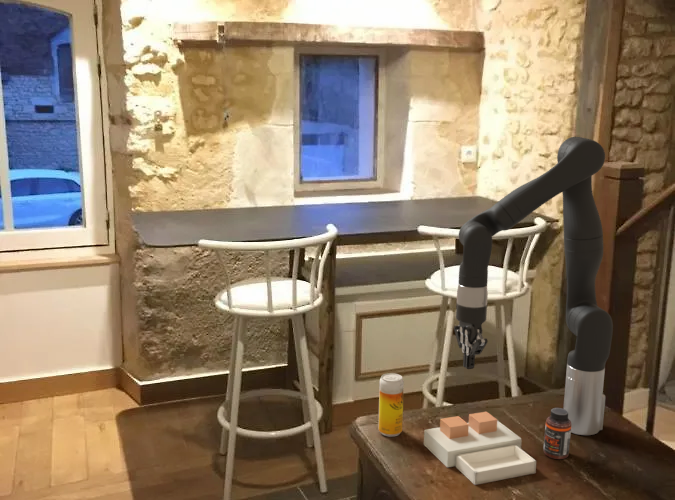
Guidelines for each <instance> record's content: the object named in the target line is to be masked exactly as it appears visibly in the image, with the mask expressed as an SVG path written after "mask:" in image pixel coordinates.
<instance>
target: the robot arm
mask: <svg viewBox="0 0 675 500" xmlns="http://www.w3.org/2000/svg"><path fill="white" fill-rule="evenodd" d="M556 161H557V163H556V164H555V165H554V166H553V167H551V168H550V169H548V170H547V171H546V172H544V173H543V174H541V175H540V176H537V177H536V178H534V179H532V180H530V181H528V182H526V183H524V184H522V185H521V186H518V187H517V188H515V189H513V190H512V191H510V192H509V193H508V194H506V196H504V197H502V198H501V199H500V200H498V201H497V202H496V203H495V204H493V205H492V206H491V207H490V208H487V209H486V210H483V211H482V212H480V213H478V214H476V215H475V216H473V217H471V218H470V219H468V220H467V221H466V222H465V223H464V224H462V226H461V227H460V229H459V231H458V240H459V242H460V244H461V245H462V246H463V250H462V251H463V252H462V261H461V262H460V265H459V270H458V284H457V291H456V309H455V319H456V320H457V321H458V322H459V323H458V325H454V327H453V330H454V331H453V332H454V334H455V338H456V342H457V345H458V348H459V349H461V352H462V353H463V358H462V359H463V361H462V362H463V363H462V365H463V366H462V367H464V368H465V369H467V370H472V369H474V368H475V364H476V363H475V361H476V356H477V355H481V354H482V353H483V351H484V349H485V347H486V345H487V344H488V342H489V341H488V338H484V337H483V327H482V326H483V325H482V324H484V323H485V322H486V321H487V315H488V314H487V313H488V298H489V297H488V291H489V290H488V280H489V279H488V277H489V275H488V274H489V263H490V260H491V255H492V250H493V237H494V236H495V235H497V234H498V233H500V232H502V231H508V230H510V229H512V228H513V227H515V226H516V225H518V224H519V223H520V222H521V221H522V220H524V219H525V218H527V217H528V216H529V215H530V214H532V213H533V212H535V211H536V210H537V209H539V208H540V207H542V206H543V205H544V204H546V203H547V202H549V201H551V199H553V198H555V197H556V196H558V195H559V194H561V193H562V218H563V219H562V220H563V246H564V257H565V275H566V301H565V302H566V304H565V322H566V326H567V328H568V329H569V331H570V332H571V333H572V334H573V335H575V336H576V341H575V347H574V349H573V350H571V351H569V353H568V355H567V359H566V360H567V361H566V374H565V386H564V399H563V409H565V410H567V411H568V419H569V420H570V421H571V433H572V434H575V435H581V436H591V435H592V436H593V435H595V434H598V433H599V432H600V431H603V426H604V415H605V407H606V406H605V405H606V395H605V394H604V392H603V391H604V382H605V381H604V380H605V371H606V363H607V361H608V359H609V357H610V354H611V353H610V352H611V346H612V340H613V331H614V329H613V328H614V324H613V319H612V316H611V315H610V314H609V313H608V311H606V310H605V309H603V308H601V307H600V306H598V302H597V295H596V278H597V274H598V272H599V270H600V268H601V267H600V266H601V263H602V260H603V257H604V231H603V225H602V222H601V221H602V220H601V216H600V214H599V210H598V207H597V203H596V201H595V199H594V195H593V187H592V186H593V184H592V182H593V181H592V180H593V179H592V178H593V177H592V176H594V175H596V174H597V173H598V172H599V171H600V170H601V169H602V168H603V166H604V164H605V161H606V153H605V149H604V148H603V146H602V145H601V144H600V143H598V141H595V140H593V139H591V138H586V137H581V136H571V137H569V138H567V139H565V140H564V141H563V142H562V143H561V145H560V146H559V148H558V150H557V160H556Z"/></svg>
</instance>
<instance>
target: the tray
mask: <svg viewBox="0 0 675 500" xmlns="http://www.w3.org/2000/svg"><path fill="white" fill-rule="evenodd" d="M455 468H456V469H457V470H458V471H459V472H461V474H462V475H464V477H466V479H468V480H469V481H470V482H471V483H472V484H473V485H474V486H477V485H482V484H487V483H491V482H496V481H501V480H502V481H503V480H506V479H512V478H517V477H522V476H528V475H533V474H536V473H537V470H536V469H537V460H536V459H535V458H533V457H532V456H530V455H529V454H528V452H526V451H524V449H522V448H521V449H520V448H519V447H518V446H517V445H511V446H505V447H500V448H494V449H489V450H483V451H477V452H472V453H466V454H461V455H456V466H455Z"/></svg>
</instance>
